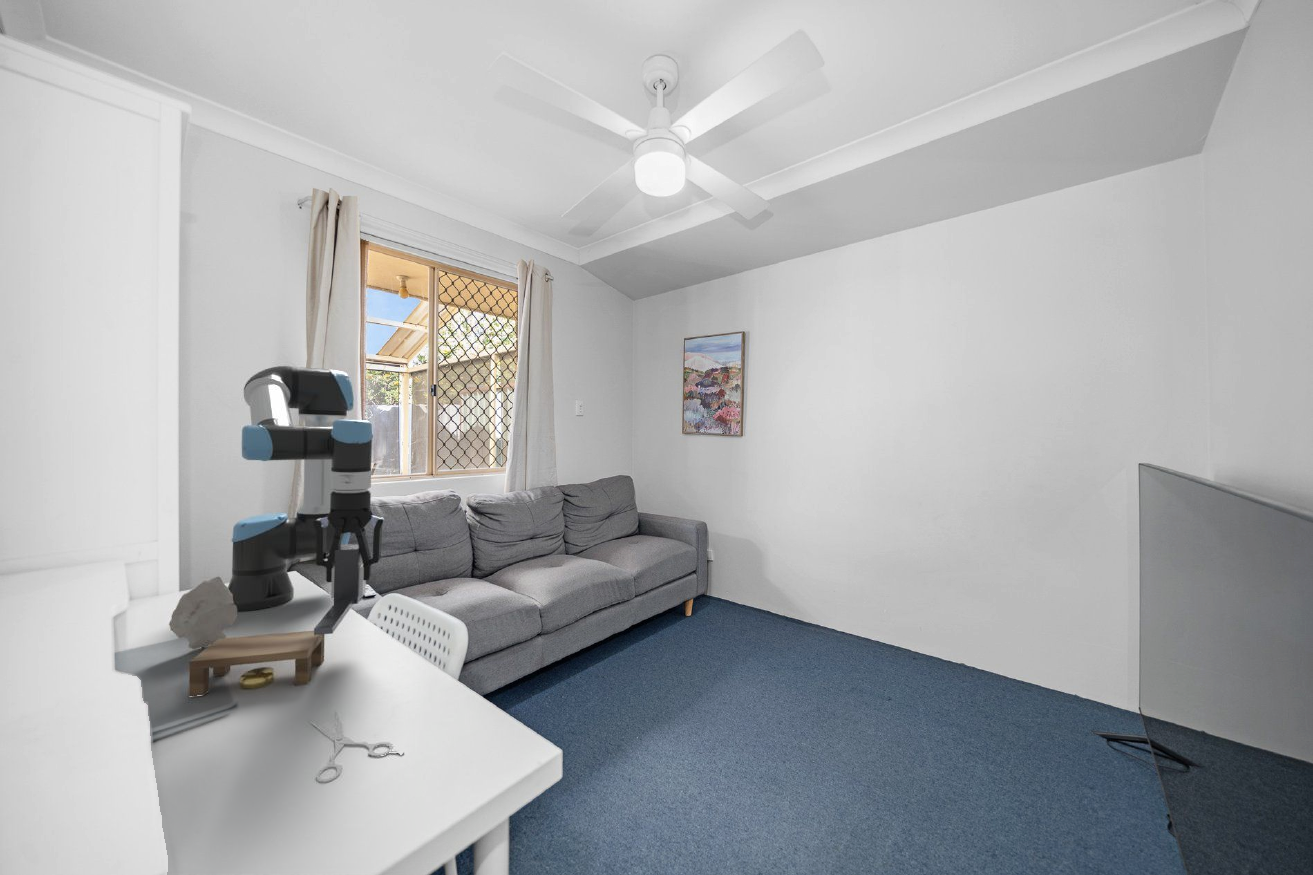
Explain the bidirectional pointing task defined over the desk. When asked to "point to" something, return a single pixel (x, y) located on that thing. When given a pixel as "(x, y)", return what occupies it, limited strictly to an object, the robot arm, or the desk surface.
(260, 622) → the desk surface
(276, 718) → the desk surface
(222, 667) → the stand
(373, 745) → the scissors
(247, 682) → the disc
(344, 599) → the dark grey l-shaped block
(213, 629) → the stone tool
